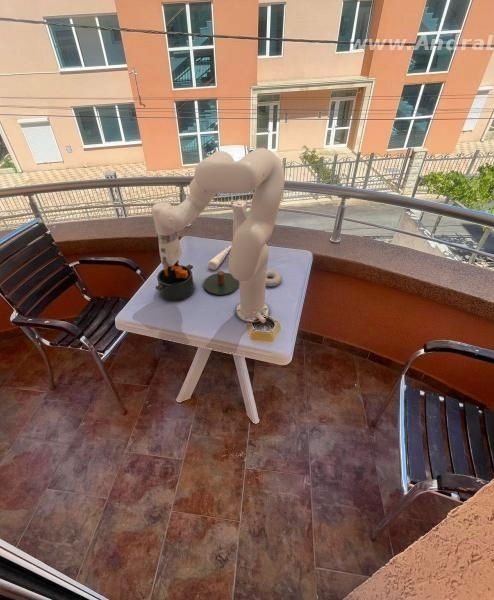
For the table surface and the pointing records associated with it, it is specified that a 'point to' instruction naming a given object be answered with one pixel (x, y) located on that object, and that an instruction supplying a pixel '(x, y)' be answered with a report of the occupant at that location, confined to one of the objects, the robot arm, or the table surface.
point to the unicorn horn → (218, 259)
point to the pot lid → (221, 283)
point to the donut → (275, 276)
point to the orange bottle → (178, 272)
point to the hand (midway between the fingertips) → (174, 273)
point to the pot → (176, 285)
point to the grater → (238, 213)
